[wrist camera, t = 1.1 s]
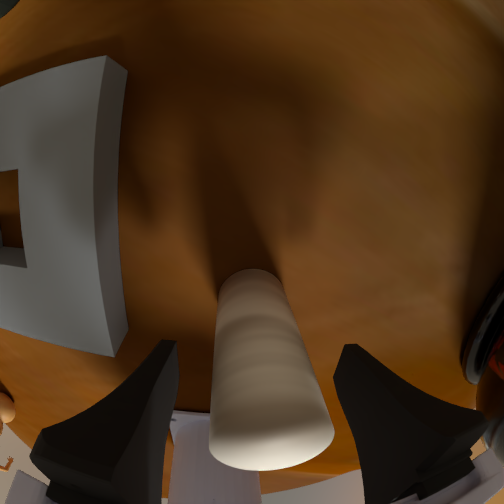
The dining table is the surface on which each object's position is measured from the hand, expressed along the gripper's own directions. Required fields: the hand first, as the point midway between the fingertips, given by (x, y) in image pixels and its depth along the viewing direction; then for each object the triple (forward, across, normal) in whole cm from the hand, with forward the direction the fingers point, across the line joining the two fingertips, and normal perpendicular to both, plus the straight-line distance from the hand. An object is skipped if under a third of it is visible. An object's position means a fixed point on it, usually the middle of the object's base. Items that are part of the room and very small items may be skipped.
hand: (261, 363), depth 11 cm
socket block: (+6, +16, -5) cm, 18 cm away
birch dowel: (+6, 0, 0) cm, 6 cm away
